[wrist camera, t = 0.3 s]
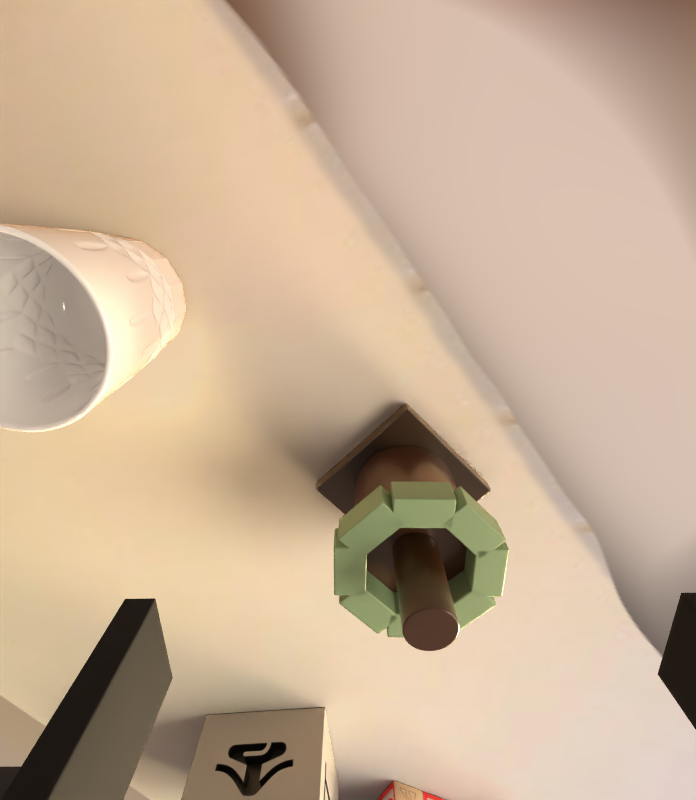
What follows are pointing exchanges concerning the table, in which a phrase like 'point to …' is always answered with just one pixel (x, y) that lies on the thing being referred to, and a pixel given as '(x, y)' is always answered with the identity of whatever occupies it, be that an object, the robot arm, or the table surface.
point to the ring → (417, 510)
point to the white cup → (77, 320)
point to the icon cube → (264, 757)
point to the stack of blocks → (405, 793)
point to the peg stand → (410, 547)
